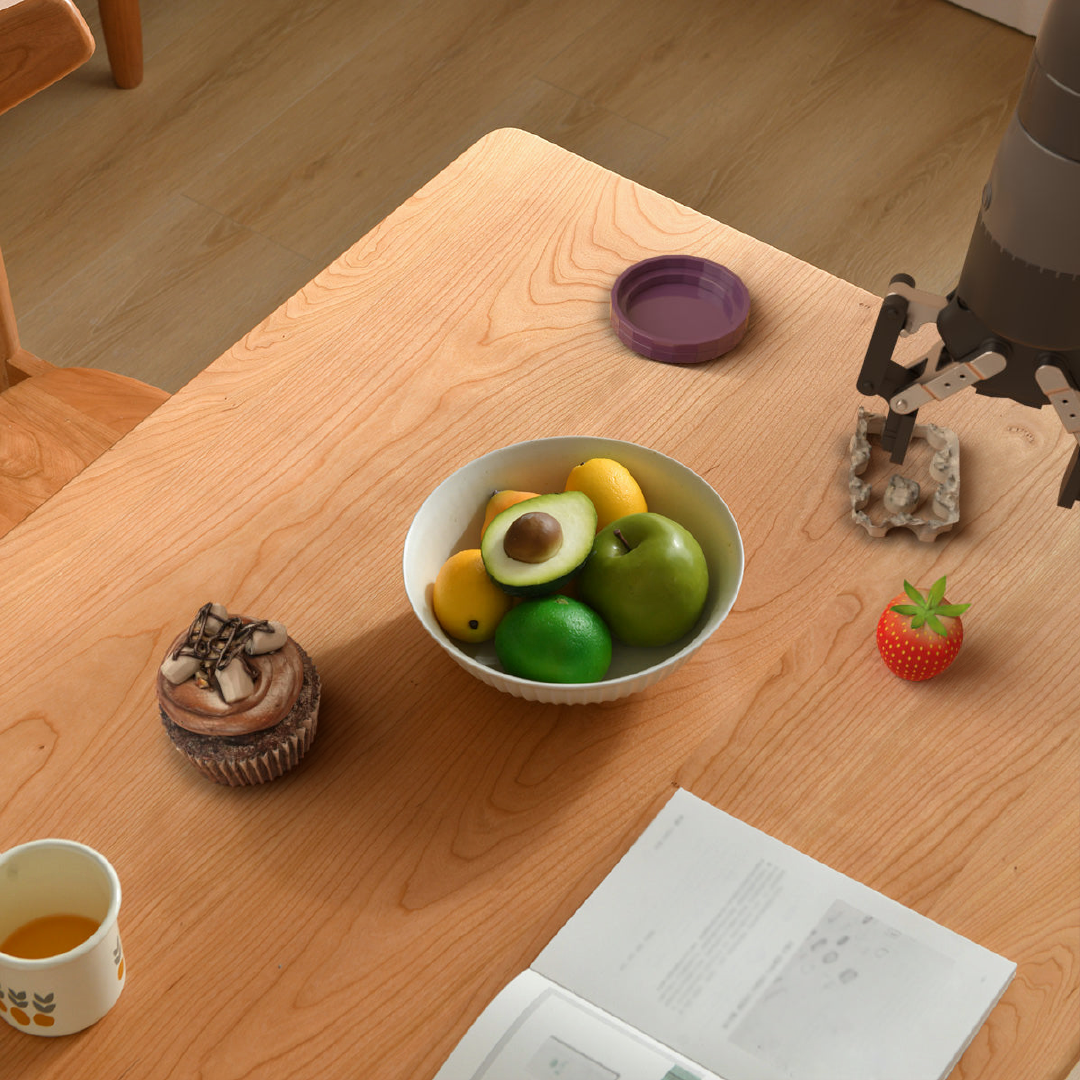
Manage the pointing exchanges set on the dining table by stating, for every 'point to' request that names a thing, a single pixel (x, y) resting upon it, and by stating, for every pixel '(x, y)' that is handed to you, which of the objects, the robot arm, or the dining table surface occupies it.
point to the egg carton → (907, 480)
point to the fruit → (920, 632)
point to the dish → (679, 308)
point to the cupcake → (238, 697)
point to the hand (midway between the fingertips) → (980, 474)
